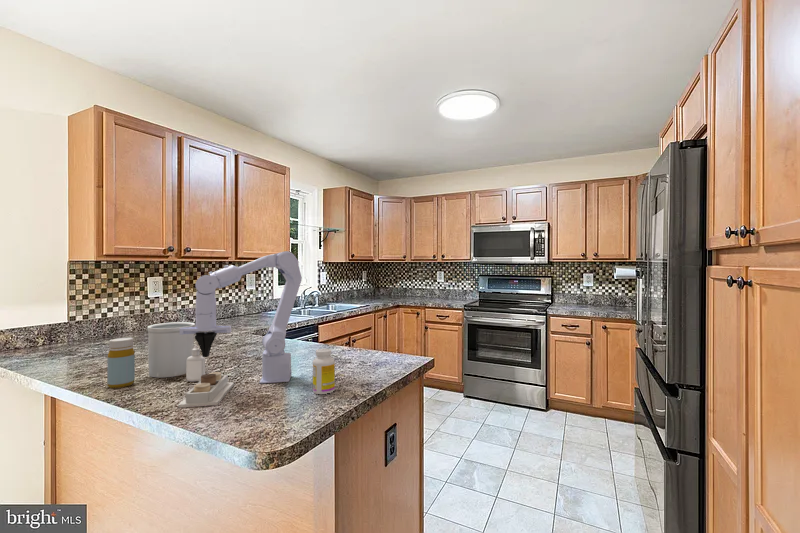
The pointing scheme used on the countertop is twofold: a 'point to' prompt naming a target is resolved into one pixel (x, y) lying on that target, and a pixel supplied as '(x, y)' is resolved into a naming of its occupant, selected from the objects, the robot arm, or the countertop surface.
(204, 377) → the walnut plug
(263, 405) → the countertop surface
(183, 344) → the utensil holder
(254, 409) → the countertop surface
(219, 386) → the white compartment tray
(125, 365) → the bottle
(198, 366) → the eye dropper bottle
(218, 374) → the maple plug
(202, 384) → the maple plug
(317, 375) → the supplement bottle
